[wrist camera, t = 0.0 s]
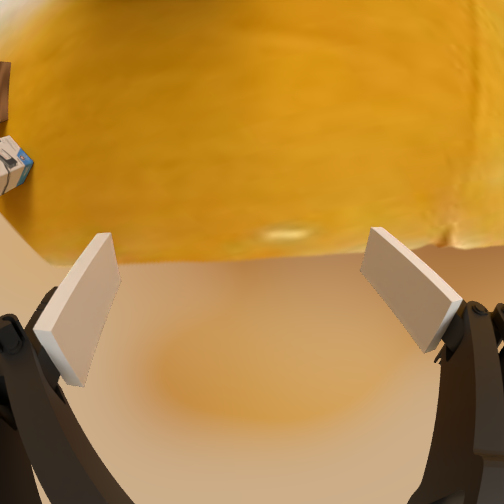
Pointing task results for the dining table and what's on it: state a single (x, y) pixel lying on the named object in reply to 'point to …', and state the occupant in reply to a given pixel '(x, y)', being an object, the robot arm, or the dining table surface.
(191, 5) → the dining table surface
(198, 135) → the dining table surface
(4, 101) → the socket block
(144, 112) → the dining table surface
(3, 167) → the ink box
